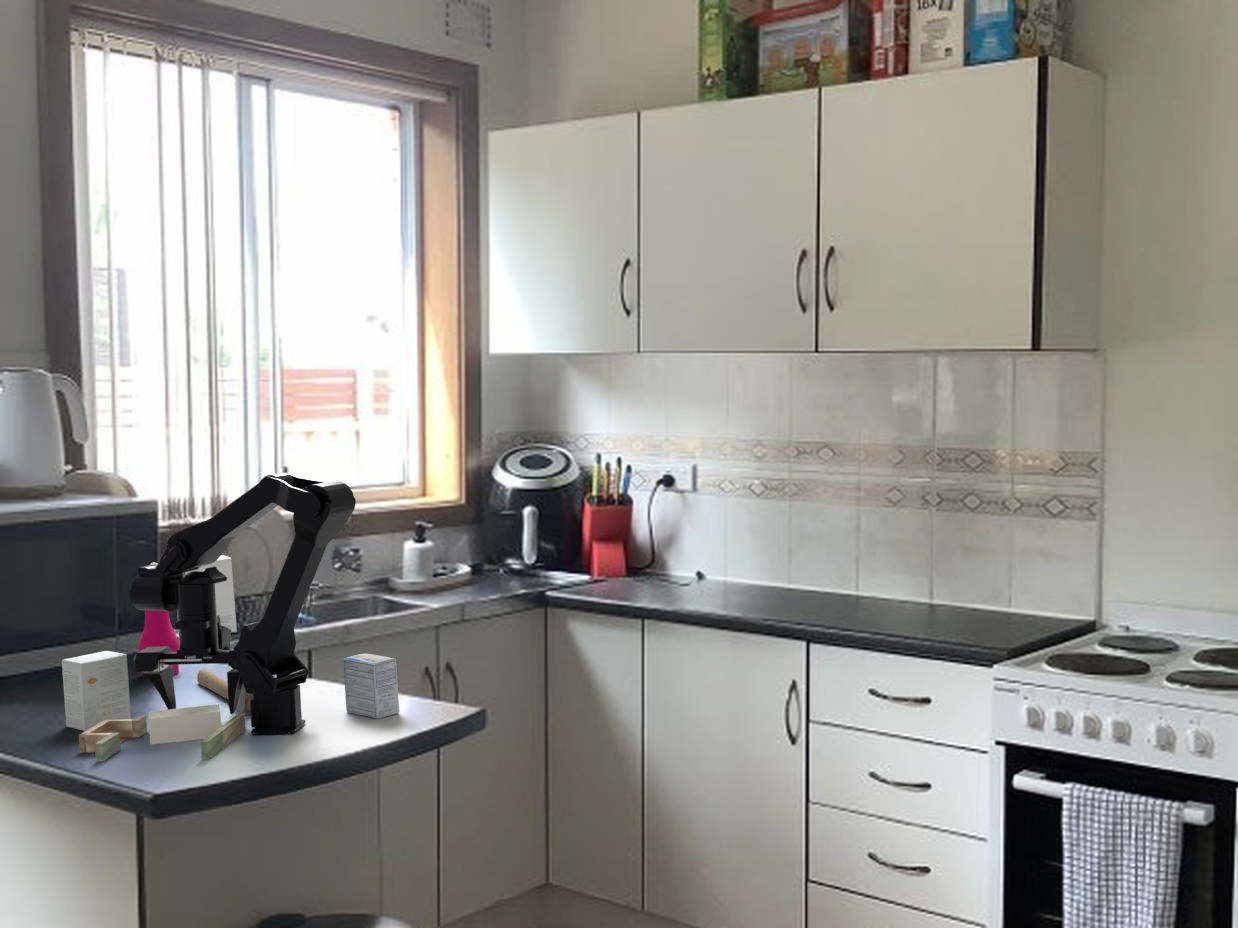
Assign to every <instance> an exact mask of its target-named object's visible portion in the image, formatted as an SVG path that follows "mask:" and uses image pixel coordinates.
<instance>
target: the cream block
mask: <svg viewBox="0 0 1238 928" xmlns="http://www.w3.org/2000/svg"><path fill="white" fill-rule="evenodd" d="M220 707H221V706H220V704H210V705H209V704H208V705H200V706H199V705H197V706H191V707H190V706H188V707H182V708H181V707H180V708H176V709H169V710H168V709H162V710H151V711H148V729H149V745H151V746H152V745H158V744H159V745H160V744H168V743H177V742H185V741H188V742H189V741H195V740H204V739H205V738H206V737H208V736H209V735H210V734H212V733H213V732H214V731H216V730H217V729H218V728H220V727H221V726H222V719H221V718H222V715H221V709H220Z"/></svg>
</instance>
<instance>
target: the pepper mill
mask: <svg viewBox="0 0 1238 928" xmlns="http://www.w3.org/2000/svg"><path fill="white" fill-rule="evenodd" d="M158 563H159V562H158ZM158 563H157V562H155V561H154V562H151V563H150V564H149V565H148V566H155V567H157V565H158ZM169 612H170V611H150V610H144V614H145V616H144V618H145V619H144V620H145V621H144V627H143V631H142V634H141V636H140V639H139V640H138V645H137V652H139V651H141V650H143V649H145V648H147V647H170V648H171V650H172V652H177V649H179V636H177V634H176V632H175V629H174V628H173V625H172V622H171V620H170V613H169ZM168 666H175V667H174V674H173V676H174V675H177V674H179V672H180V668H179V666H180V664H175V665H168ZM143 673H144V672H141V674H143Z"/></svg>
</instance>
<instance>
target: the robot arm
mask: <svg viewBox="0 0 1238 928" xmlns="http://www.w3.org/2000/svg"><path fill="white" fill-rule="evenodd" d="M354 496H355V495H354V493H353V491H352V489H351V487H350V486H349V485H347V484H346V483H345V482H343V481H341V480H333V481H328V482H327V481H322V480H318V479H311V478H305V477H300V476H297V475H294V474H291V473H288V472H279V473H273V474H267V475H265V476H263V478H262V479H261V480H260V481H259V482H258V483H257V484H256V485H254V486H253V487H251V488H250V489H248V490H247V491H246V492H244V493H243V494H242V495H240V496H239V497H238V498H236V499H234V500H233V501H232V502H230V503H229V504H228V505H227V506H225V507H224V508H223V509H221V510H220V511H218V512H217V513H215V514H214V515H213V516H211V517H210V518H208V519H206V520H204V521H201V522H199V523H196V524H193V525H191V526H188V527H185V528H183V529H181V530H179V531H177V532H174V533H173V534H171V535H170V536H169V537H168V538H167V540H166V549H165V551H164V552H163V554H162V557H161V558H160V560H159V561H158V565H157V567H155V566H149V565H143V566H140V567H138V568H137V576H136V577H135V578H134V580H133V581H132V583H131V587H130V590H129V599H130V603H131V604H132V606H133V607H134V608H135V609H136V610H139V611H145V610H150V611H169V612H175V610H176V612H177V614H176V615H177V621H176V622H174V628H175V629H174V630H177V631H178V640H179V649H177V652H172V650H171V648H170V647H147V648H145V649H143V650H141V651H139V652H138V651H137V652H136V654H135V655H134V656H133V659H132V663H133V664H132V667H133V672H135V673H141V674H142V672H144V673H143V674H142V677H143V678H147V679H149V681H150V682H151V684H152V685H153V686H154V688H155V689H156V691H157V692H158V694H159V696H160V698H161V699H162V702H163V703H164V705H165V707H166V710H169V709H177V702H176V701H177V700H176V692H175V684H174V675H173V674H174V667H175V666H168V665H175V664H179V665H210V664H212V665H213V664H218V665H219V664H228V666H229V667H230V668H231V669H230V670H228V671H227V672H226V679H227V680H226V682H227V683H228V699H227V700H228V701H227V702H228V709H229V714H230V715H234V714H235V712H236V711H237V710H236V707H237V703H238V700H239V696H240V693H241V689H242V686H243V685H244V687H245V690H246V693H249V694H253V699H252V700H251V701H250V711H251V714H250V724H251V725H250V726H251V728H252V729H251V731H250V733H251V735H259V734H260V735H266V734H267V735H269V734H275V735H276V734H278V735H279V734H295V733H296V732H298V730H299V729H301V728H302V727H303V726H304V725H305V724H306V719H303V718H302V717H303V716H302V698H301V684H305V683H306V682H307V679H308V676H309V669H308V667H307V666H306V665H305V664H304V663H303V662H302V661H301V659H300V658H299V657H298V656H297V655H296V654H295V650H296V647H297V646H296V645H297V639H296V633H295V632H296V631H295V625H296V623H297V620H298V617H299V616H300V613H301V610H302V608H303V606H304V603H305V601H306V599H307V596H308V594H309V591H310V588H311V587H312V583H313V581H314V578H315V576H316V574H317V571H318V568H319V567H320V563H321V561H322V560H323V559H322V558H323V557H324V553H325V552H326V550H327V546H328V545H329V543H330V542H331V541H332V540H333V539H334V538H335V537H336V536H337V534H338V533H340V532H341V531H342V529H343V528H345V525H346V524H347V522H348V521H349V520H350V518H351V516H352V514H353V513H354V510H355V508H356V497H354ZM278 506H279V507H280V508H282V509H283V510H285V511H287V512H290V513H293V515H292V520H293V521H292V522H293V527H294V538H293V539H292V542H291V545H290V547H289V550H288V553H287V555H286V558H285V559H284V562H283V565H282V567H281V569H280V573H279V576H278V578H277V580H276V582H275V585H274V588H273V590H272V593H271V595H270V597H269V600H268V603H267V604H266V605H267V606H266V608H265V610H264V612H263V615H262V617H261V619H260V620H259V621H256V622H253V623H248V624H246V625H243V627H242V629H241V631H240V634H239V639H238V641H237V643H236V645H235V646H234V647H233V648H231V640H232V639H231V638H232V633H231V629H229V628H227V627H225V626H221V623H220V618H219V615H217V611H216V594H215V584H216V583H220V582H224V581H226V580H227V577H226V576H225V575H224V574H223V573H221V572H220V571H219V570H218V569H217V568H216V567H215V566H214V567H210V568H206V569H205V571H204V572H200V571H194V570H198V569H199V568H200V567H201V566H205V565H210V564H212V563H214V562H215V561H216V560H217V559H218V558H219V557H220V556H221V555H223V554H224V553H225V552H226V551H227V550H228V548H229V545H230V543H231V541H232V540H233V539H234V538H236V536H238V535H239V534H240V533H242V532H243V531H245V530H246V529H248V528H249V527H250V526H252V525H253V524H255V523H256V522H257V521H259V520H260V519H262V518H263V517H265V515H267V514H269V513H270V512H271V511H273V510H274V509H276V508H277V507H278ZM189 571H193V572H189ZM185 572H189V573H188V574H185V575H183V574H184V573H185ZM274 676H276V677H274Z"/></svg>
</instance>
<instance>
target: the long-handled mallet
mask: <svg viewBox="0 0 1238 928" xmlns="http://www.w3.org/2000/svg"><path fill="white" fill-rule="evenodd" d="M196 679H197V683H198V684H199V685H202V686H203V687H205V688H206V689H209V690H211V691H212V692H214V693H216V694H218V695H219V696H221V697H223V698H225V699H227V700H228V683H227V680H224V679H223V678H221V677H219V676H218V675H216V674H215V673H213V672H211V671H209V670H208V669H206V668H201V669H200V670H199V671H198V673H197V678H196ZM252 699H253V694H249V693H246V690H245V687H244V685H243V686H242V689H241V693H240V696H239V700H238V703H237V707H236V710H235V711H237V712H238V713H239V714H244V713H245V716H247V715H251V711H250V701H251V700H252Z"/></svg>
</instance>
